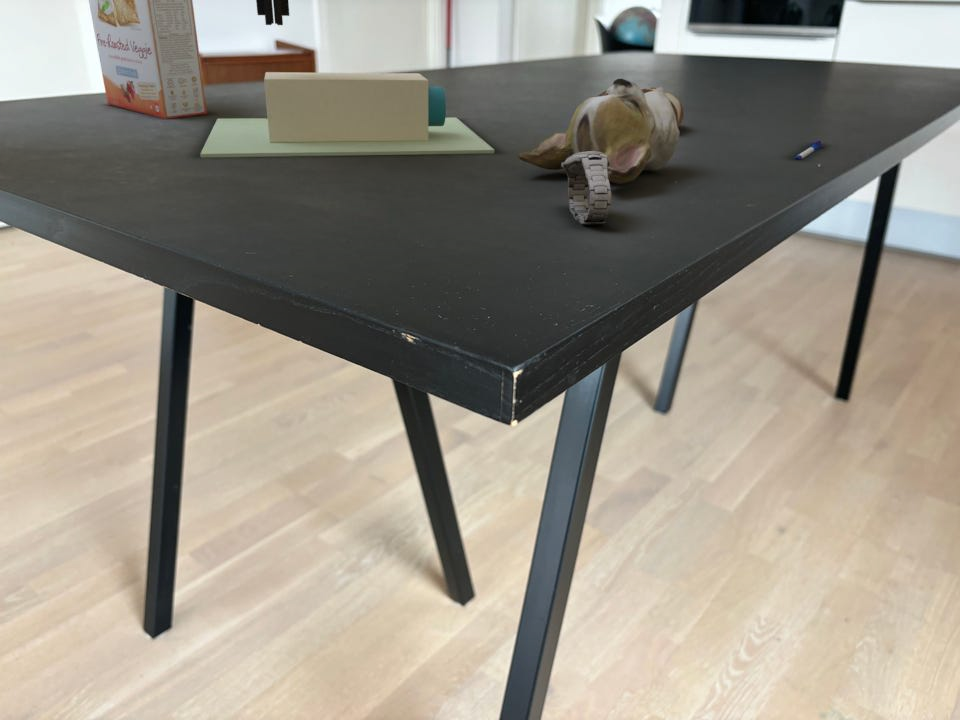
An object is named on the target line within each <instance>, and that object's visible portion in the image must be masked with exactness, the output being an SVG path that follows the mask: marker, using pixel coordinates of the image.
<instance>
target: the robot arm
mask: <svg viewBox="0 0 960 720" xmlns="http://www.w3.org/2000/svg"><path fill="white" fill-rule="evenodd" d="M255 2H256V13H257V16H264V19H265V20H264V21H265V25H266V26H272V25H273V24H275V25H277V26H283V25H284V21H283V17H290V3H289V0H255Z"/></svg>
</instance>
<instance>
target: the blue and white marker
mask: <svg viewBox="0 0 960 720" xmlns="http://www.w3.org/2000/svg"><path fill="white" fill-rule="evenodd" d="M821 148H822V143H821V140H816V141H814V142H813V143H812V145H811V146H809V147H808V148H806V149H805V150H804V151H802V152H801V153H798V154H797V155H796V156H795V159H794V160H796V161H801V160H802V159H804V158H806V157H807V156H809V155H810V154H812V153H813V152H815V151H817V150H818V149H821Z"/></svg>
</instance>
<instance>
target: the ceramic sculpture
mask: <svg viewBox="0 0 960 720" xmlns="http://www.w3.org/2000/svg"><path fill="white" fill-rule="evenodd" d="M656 88H657V89H655V90H653V91H651V92H647V93H643V91H642V90H641V89H642V88H641V87H640V86H639V85H638V84H636V83H635V82H631V81H630V80H627V79H624V78H616V79H615V80H613V82H612V84H611V85H610V86H609V87H608V88H607V92H606V93H605V95H601V96H598V95H594V96H591V97H589V98H586V99H585V100H584V101H582V102H581V103H580V104H579V105H578V106H577V108H576V109H575V111H574V113H573V115H572V117H571V119H570V123H569V126H568V128H567V129H566V131H565V132H563V131H562V132H555V133H553V135H551V136H550V137H548V138H545V139H543V140H542V141H541V142H540V143H539V144H538V147H535V148H534V149H533V150H532V151H530V152H527V151H524V152H521V153H519V154H518V155H517V156H518V158H519V160H521V161H523V162H524V163H528V164H531V165H532V166H535V167H538V168H540V169H544V170H549V171H550V170H551V171H559V170H564V169H563V168H562V162H565V161H566V159H567V158H568V157H570V156H572V155H574V154H577V153H580V152H587V151H597V152H602V153H604V154H606V155H607V156H608V158H609V161H610V165H609V167H608V168H607V171H608V180H609V182H611V183H614V184H617V185H618V184H627V183H630V182H632V181H634V180H635V179H637V177H638V176H640V174H641V173H642V171H643V172H644V171H658V170H660V169H662V168H663V167H664V166H666V165H668V163H669V162H670V161H671V158H673V155H674V153H675V152H676V149H677V145H678V143H679V139H680V134H681V132H680V130H679V127H677V121H676V116H675V113H674V110H673V108H672V105H671V102H670V101H669V99H668V98H667V96H666V93H665V92H666V90H665V89H664V87H662V86H659V87H656Z"/></svg>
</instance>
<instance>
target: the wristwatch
mask: <svg viewBox="0 0 960 720" xmlns="http://www.w3.org/2000/svg"><path fill="white" fill-rule="evenodd" d="M609 165H610V161H609V158H608V156H607V155H606V154H604V153H602V152H597V151H587V152H580V153H577V154H574V155H572V156H570V157H568V158H567V159H566V161H565V162H562V168H563V169H562V170H564V171H565V174H566V176H567V193H568V195H567V196H568V210H569V212H570V213H571V214H572V216H573V219H574V220H575V221H576V222H578V223H579V224H580V225H583V226H587V225H588V226H593V225H604V224H605V223H606V220H607V219H608V216H609V214H610V211H611V206H612V190H611V184H610V181H609V180H608V171H607V168H608V167H609ZM588 198H589V199H588Z"/></svg>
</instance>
